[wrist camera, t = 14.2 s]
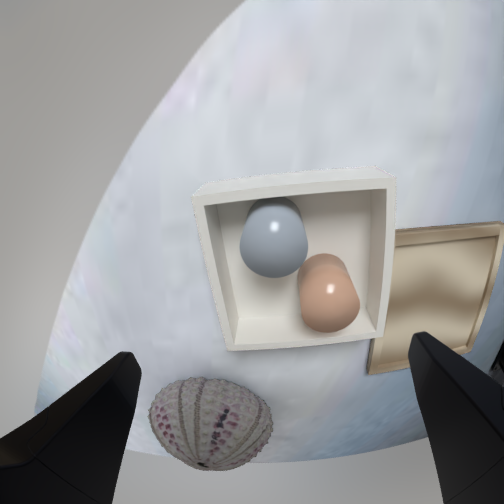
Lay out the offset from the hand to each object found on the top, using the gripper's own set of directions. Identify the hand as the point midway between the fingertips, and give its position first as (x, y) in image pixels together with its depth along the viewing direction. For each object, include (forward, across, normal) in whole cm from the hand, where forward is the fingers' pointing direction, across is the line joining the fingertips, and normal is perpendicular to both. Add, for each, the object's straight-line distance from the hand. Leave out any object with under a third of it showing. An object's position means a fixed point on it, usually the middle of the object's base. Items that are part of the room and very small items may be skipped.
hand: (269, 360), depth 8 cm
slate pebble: (+12, 0, 0) cm, 12 cm away
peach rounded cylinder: (+12, -3, +4) cm, 13 cm away
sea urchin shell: (+13, +8, +20) cm, 26 cm away
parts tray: (+12, -14, +9) cm, 20 cm away
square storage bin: (+12, -2, +3) cm, 13 cm away
